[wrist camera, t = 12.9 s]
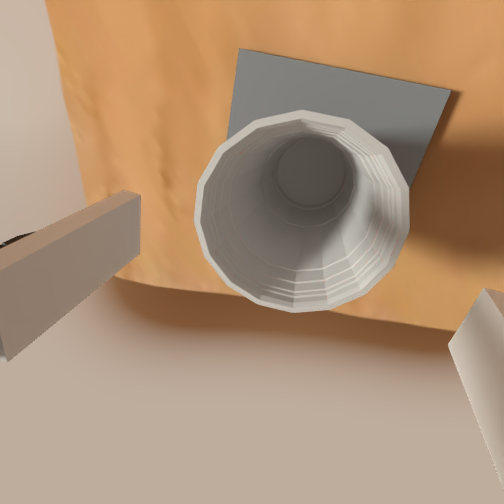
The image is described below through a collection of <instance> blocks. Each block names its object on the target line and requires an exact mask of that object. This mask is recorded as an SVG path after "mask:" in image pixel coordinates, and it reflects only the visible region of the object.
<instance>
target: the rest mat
mask: <svg viewBox="0 0 504 504" xmlns="http://www.w3.org/2000/svg"><path fill="white" fill-rule="evenodd" d="M450 92H451V90H447V89H442V88H437V87H432V86H427V85H422V84H417V83H412V82H407V81H402V80H397V79H392V78H387V77H382V76H377V75H371V74H366V73H361V72H356V71H351V70H346V69H341V68H336V67H331V66H326V65H321V64H316V63H311V62H306V61H301V60H295V59H290V58H285V57H280V56H275V55H270V54H265V53H260V52H255V51H250V50H245V49H240V48H239V53H238V61H237V68H236V75H235V83H234V90H233V97H232V105H231V112H230V119H229V127H228V134H227V140H228V139H230V138H231V137H232V136H234V135H235V134H237V133H238V132H239V131H241V130H242V129H243V128H245V127H246V126H247V125H249V124H250V123H251V122H253V121H254V120H257V119H262V118H266V117H271V116H275V115H280V114H284V113H289V112H293V111H298V110H306V111H311V112H316V113H321V114H326V115H330V116H335V117H340V118H345V119H350V120H351V121H353V122H354V123H355V124H357V125H358V126H359V127H361V128H362V129H363V130H365V131H366V132H367V133H369V134H370V135H371V136H373V137H374V138H376V139H377V140H378V141H380V142H381V143H382V144H384V145H385V146H386V147H388V148H389V150H390V152H391V154H392V156H393V158H394V160H395V162H396V164H397V166H398V168H399V170H400V172H401V174H402V176H403V177H404V179H405V181H406V183H407V185H408V187H409V190H410V187H411V185H412V183H413V180H414V178H415V176H416V173H417V171H418V168H419V166H420V164H421V161H422V159H423V157H424V154H425V152H426V149H427V147H428V145H429V142H430V140H431V138H432V135H433V133H434V130H435V128H436V126H437V123H438V121H439V119H440V116H441V114H442V111H443V109H444V107H445V104H446V102H447V100H448V97H449V95H450Z"/></svg>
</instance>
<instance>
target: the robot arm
mask: <svg viewBox="0 0 504 504" xmlns="http://www.w3.org/2000/svg"><path fill="white" fill-rule="evenodd" d="M140 211H141V195H140V194H136V193H133V192H129V191H125V190H123V191H120V192H118V193H116V194H114V195H112V196H110V197H108V198H106V199H104V200H102V201H99V202H97V203H95V204H93V205H91V206H89V207H87V208H85V209H83V210H81V211H78V212H77V213H74V214H72V215H70V216H68V217H66V218H64V219H62V220H60V221H58V222H55V223H54V224H51V225H49V226H47V227H45V228H43V229H41V230H39V231H37V232H32V233H28V234H24V235H20V236H17V237H15V238H12V239H10V240H8V241H6V242H4V243H2V245H0V360H2V361H5V362H9V361H10V360H11V359H12V358H13V357H15V356H16V355H17V354H18V353H20V352H21V351H22V350H23V349H24V348H26V347H27V346H28V345H29V344H30V343H32V342H33V341H34V340H35V339H37V338H38V337H39V336H40V335H41V334H43V333H44V332H45V331H46V330H47V329H48V328H50V327H51V326H52V325H54V324H55V323H56V322H57V321H59V320H60V319H61V318H62V317H63V316H65V315H66V314H67V313H68V312H69V311H71V310H72V309H73V308H74V307H75V306H77V305H78V304H79V303H80V302H81V301H83V300H84V299H85V298H86V297H88V296H89V295H90V294H91V293H93V292H94V291H95V290H96V289H97V288H98V287H100V286H101V285H102V284H103V283H105V282H106V281H107V280H108V279H110V278H111V277H112V276H113V275H114V274H116V273H117V272H118V271H119V270H121V269H122V268H123V267H124V266H125V265H127V264H128V263H129V262H130V261H132V260H133V259H134V258H135V257H136V256H138V255H139V254H140ZM448 346H449V349H450V352H451V355H452V357H453V360H454V362H455V365H456V368H457V370H458V373H459V375H460V378H461V381H462V383H463V386H464V388H465V391H466V394H467V396H468V399H469V402H470V404H471V407H472V409H473V412H474V415H475V417H476V420H477V422H478V425H479V428H480V430H481V433H482V435H483V438H484V441H485V443H486V446H487V449H488V451H489V454H490V456H491V459H492V461H493V464H494V467H495V469H496V472H497V475H498V477H499V480H500V482H501V485H502V488H503V490H504V293H502V292H498V291H495V290H491V289H487V288H483V290H482V292H481V293H480V295H479V296H478V298H477V299H476V301H475V303H474V304H473V306H472V307H471V309H470V311H469V312H468V314H467V315H466V317H465V319H464V320H463V322H462V323H461V325H460V326H459V328H458V330H457V331H456V333H455V335H454V336H453V338H452V339H451V341H450V342H449V344H448Z"/></svg>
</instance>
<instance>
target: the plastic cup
mask: <svg viewBox="0 0 504 504" xmlns="http://www.w3.org/2000/svg"><path fill="white" fill-rule="evenodd" d="M194 224H195V227H196V231H197V234H198V237H199V240H200V244H201V247H202V250H203V254H204V257H205V258H206V259H207V261H208V262H209V263H210V264H211V266H212V267H213V268H214V269H215V271H216V272H217V273H218V275H219V276H220V277H221V278H222V280H223V281H224V282H225V283H226V285H227V286H229V287H231V288H232V289H234V290H235V291H237V292H239V293H240V294H242V295H243V296H245V297H247V298H248V299H250V300H252V301H253V302H255V303H256V304H259V305H263V306H267V307H271V308H275V309H279V310H284V311H288V312H292V313H296V312H308V311H320V310H331V309H333V308H335V307H337V306H340V305H342V304H344V303H347V302H349V301H351V300H353V299H356V298H358V297H360V296H363V295H365V294H366V293H367V292H368V291H369V290H370V289H371V288H372V287H373V286H374V285H375V284H377V283H378V282H379V281H380V280H381V279H382V278H383V277H384V276H385V275H386V274H387V273H388V272H389V271H390V270H391V269H392V268H393V267H394V265H395V263H396V260H397V258H398V256H399V254H400V251H401V249H402V247H403V244H404V242H405V240H406V238H407V235H408V233H409V231H410V219H409V187H408V185H407V183H406V181H405V179H404V177H403V176H402V174H401V172H400V170H399V168H398V166H397V164H396V162H395V160H394V158H393V156H392V154H391V152H390V150H389V148H388V147H386V146H385V145H384V144H382V143H381V142H380V141H378V140H377V139H376V138H374V137H373V136H371V135H370V134H369V133H367V132H366V131H365V130H363V129H362V128H361V127H359V126H358V125H357V124H355V123H354V122H353V121H351V120H350V119H345V118H340V117H335V116H330V115H326V114H321V113H316V112H311V111H306V110H298V111H293V112H289V113H284V114H280V115H275V116H271V117H266V118H262V119H257V120H254V121H253V122H251V123H250V124H249V125H247V126H246V127H245V128H243V129H242V130H241V131H239V132H238V133H237V134H235V135H234V136H232V137H231V138H230V139H228V140H227V141H226V142H224V143H223V144H222V145H220V146H219V147H218V148H217V150H216V152H215V154H214V155H213V157H212V159H211V161H210V162H209V164H208V166H207V168H206V169H205V171H204V173H203V175H202V176H201V178H200V180H199V182H198V185H197V195H196V204H195V214H194Z"/></svg>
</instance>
